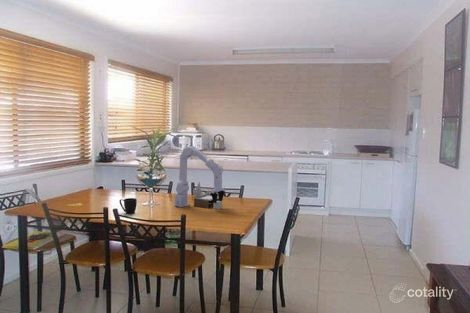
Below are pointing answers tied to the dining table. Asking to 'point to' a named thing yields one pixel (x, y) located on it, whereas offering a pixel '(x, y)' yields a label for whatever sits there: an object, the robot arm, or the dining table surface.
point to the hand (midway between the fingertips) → (217, 201)
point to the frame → (203, 203)
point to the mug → (129, 205)
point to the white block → (217, 205)
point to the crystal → (199, 191)
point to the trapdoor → (205, 197)
